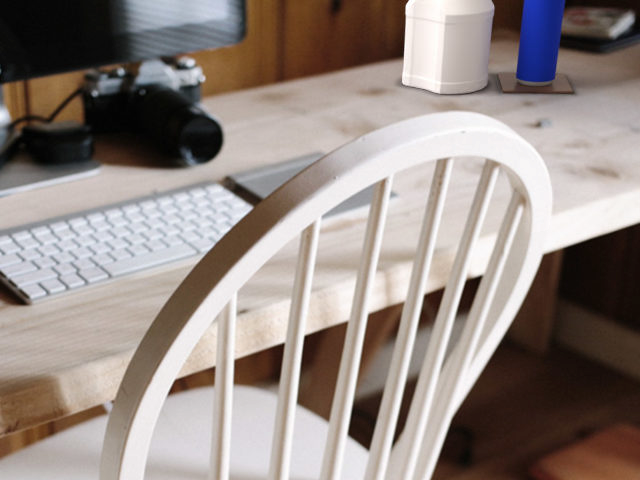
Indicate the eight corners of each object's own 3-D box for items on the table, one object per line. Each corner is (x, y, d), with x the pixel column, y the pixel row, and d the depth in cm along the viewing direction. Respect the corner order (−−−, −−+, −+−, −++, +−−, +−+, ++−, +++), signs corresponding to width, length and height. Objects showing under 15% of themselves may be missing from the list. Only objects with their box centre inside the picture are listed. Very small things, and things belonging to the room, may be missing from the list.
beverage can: (549, 76, 141) (564, -40, 133) (558, 86, 136) (574, -34, 129) (511, 77, 141) (524, -40, 133) (519, 87, 137) (532, -33, 129)
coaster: (563, 75, 142) (563, 73, 142) (572, 93, 135) (573, 91, 135) (497, 75, 143) (497, 73, 143) (503, 92, 136) (503, 90, 135)
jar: (389, 82, 141) (394, -34, 134) (434, 69, 147) (442, -43, 139) (454, 98, 134) (464, -24, 126) (500, 84, 139) (512, -34, 131)
